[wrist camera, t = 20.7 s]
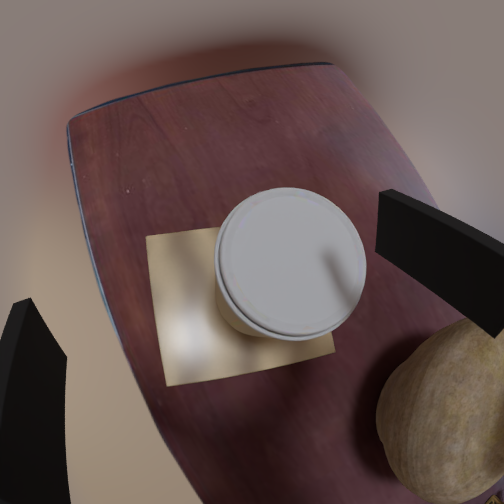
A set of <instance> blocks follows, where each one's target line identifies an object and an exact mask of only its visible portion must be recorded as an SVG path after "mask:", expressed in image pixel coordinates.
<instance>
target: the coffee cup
mask: <svg viewBox="0 0 504 504" xmlns="http://www.w3.org/2000/svg"><path fill="white" fill-rule="evenodd" d="M214 268H215V295H216V301H217V305H218V308H219V311H220V313H221V315H222V316H223V318H224V319H225V320H226V321H227V323H228V324H229V325H230V326H232V327H233V328H234V329H236V330H238V331H239V332H242V333H244V334H247V335H251V336H257V337H267V338H275V339H279V340H286V341H304V340H310V339H314V338H317V337H320V336H323V335H325V334H327V333H329V332H331V331H333V330H334V329H335V328H337V327H338V326H340V325H341V324H342V323H343V322H344V321H345V320H346V319H347V318H348V317H349V316H350V314H351V313H352V312H353V310H354V309H355V307H356V305H357V303H358V301H359V299H360V296H361V293H362V290H363V287H364V284H365V277H366V258H365V252H364V248H363V245H362V242H361V239H360V237H359V234H358V232H357V230H356V229H355V227H354V225H353V224H352V222H351V221H350V219H349V218H348V217H347V216H346V215H345V214H344V213H343V212H342V211H341V210H340V208H338V207H337V206H336V205H335V204H333V203H332V202H331V201H329V200H328V199H326V198H324V197H322V196H320V195H318V194H316V193H314V192H311V191H308V190H303V189H298V188H275V189H270V190H266V191H263V192H260V193H257V194H255V195H252V196H251V197H249V198H247V199H245V200H244V201H243V202H241V203H240V204H239V205H237V206H236V207H235V208H234V209H233V210H232V211H231V213H230V214H229V215H228V216H227V218H226V219H225V221H224V223H223V224H222V226H221V228H220V230H219V233H218V236H217V239H216V243H215V249H214Z"/></svg>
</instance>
